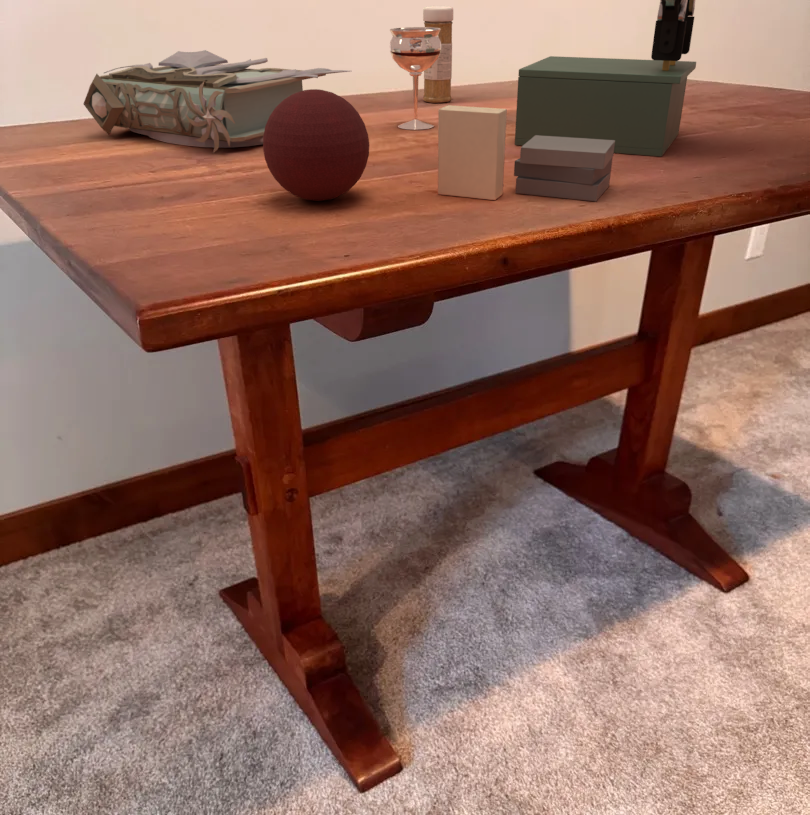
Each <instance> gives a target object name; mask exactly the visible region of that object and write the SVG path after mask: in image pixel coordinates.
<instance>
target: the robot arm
mask: <svg viewBox="0 0 810 815" xmlns="http://www.w3.org/2000/svg"><path fill="white" fill-rule="evenodd" d="M695 7H696V0H659V5H658V9H657V10H658V11H657V16H656V17H657V18H656V20H655V24H654V33H653V41H652V47H651V48H652V49H651V54H650V56H651V60H662V61H681V59H682V55H687V54H689V53H690V51H691V50H690V48H691V43H692V42H691V41H692V36H693V29H694V22H695V16H694V15H695Z"/></svg>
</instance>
